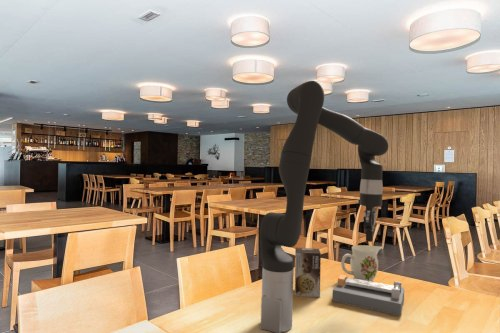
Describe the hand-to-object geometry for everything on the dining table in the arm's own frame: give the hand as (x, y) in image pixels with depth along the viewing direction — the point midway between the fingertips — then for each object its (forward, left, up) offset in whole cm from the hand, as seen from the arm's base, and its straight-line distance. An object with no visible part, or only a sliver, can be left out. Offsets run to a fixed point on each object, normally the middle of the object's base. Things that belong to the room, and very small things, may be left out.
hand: (369, 241), depth 120 cm
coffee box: (-5, +21, -21) cm, 30 cm away
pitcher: (+21, +6, -21) cm, 30 cm away
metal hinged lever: (+1, -1, -17) cm, 17 cm away
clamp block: (+1, 0, -21) cm, 21 cm away
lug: (+1, +9, -17) cm, 19 cm away
